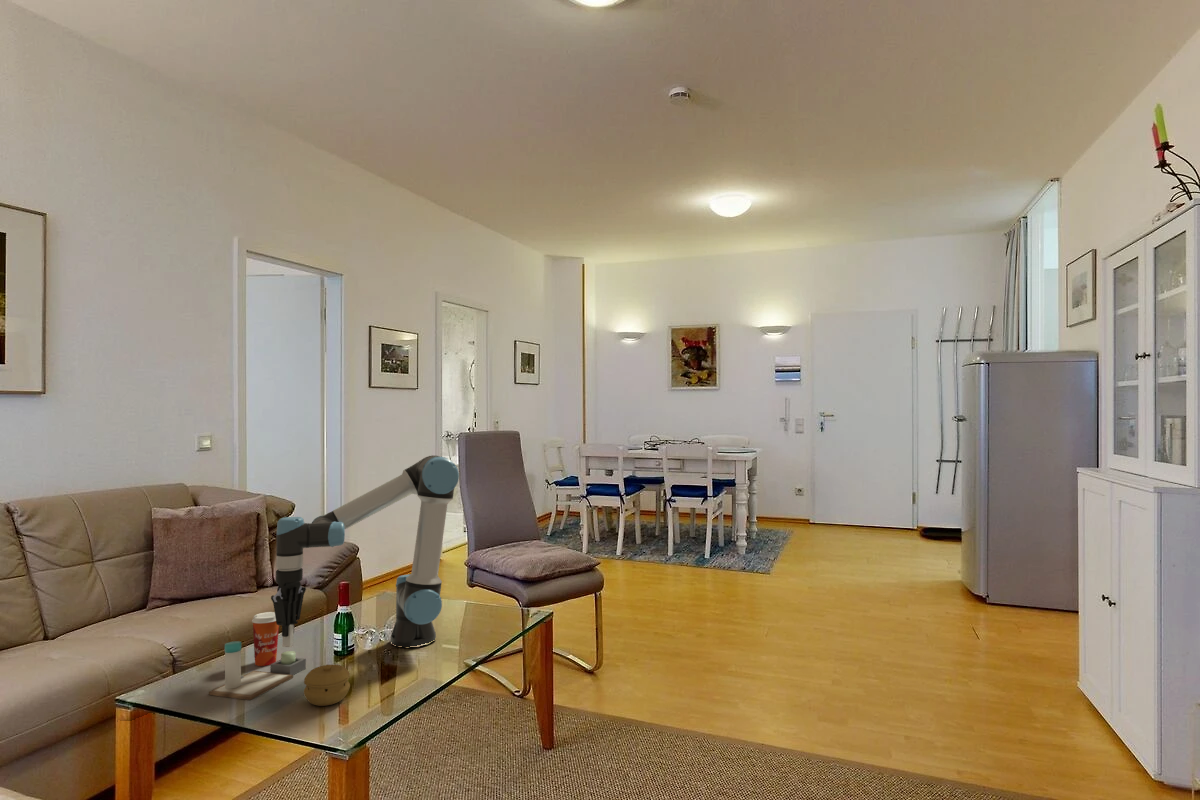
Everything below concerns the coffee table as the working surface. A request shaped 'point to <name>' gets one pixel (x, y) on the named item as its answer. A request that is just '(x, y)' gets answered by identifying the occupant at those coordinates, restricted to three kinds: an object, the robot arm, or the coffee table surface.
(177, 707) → the coffee table surface
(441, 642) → the coffee table surface
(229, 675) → the marker
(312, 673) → the pot
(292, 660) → the button
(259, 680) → the drawing board
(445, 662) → the coffee table surface
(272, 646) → the coffee cup
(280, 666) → the button housing
